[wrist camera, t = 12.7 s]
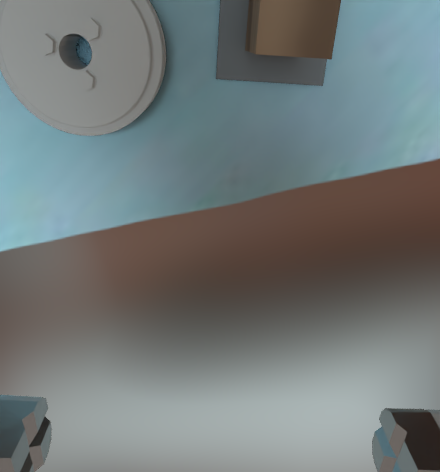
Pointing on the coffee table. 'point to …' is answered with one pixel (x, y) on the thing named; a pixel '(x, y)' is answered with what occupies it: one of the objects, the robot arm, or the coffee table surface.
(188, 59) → the coffee table surface
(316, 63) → the rubber pad
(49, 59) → the grey round disc
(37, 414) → the robot arm
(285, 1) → the walnut block
